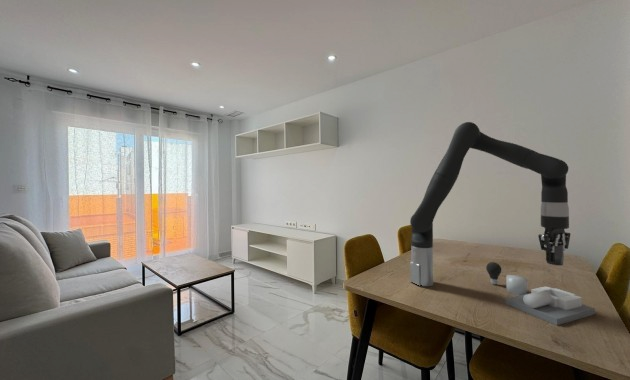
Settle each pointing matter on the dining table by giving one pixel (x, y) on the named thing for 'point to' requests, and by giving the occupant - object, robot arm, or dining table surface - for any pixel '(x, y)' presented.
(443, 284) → the dining table surface
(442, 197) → the robot arm
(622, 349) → the dining table surface
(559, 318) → the socket block
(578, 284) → the dining table surface
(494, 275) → the light bulb
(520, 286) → the cylinder
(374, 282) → the dining table surface
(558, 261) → the dark grey domed cylinder
